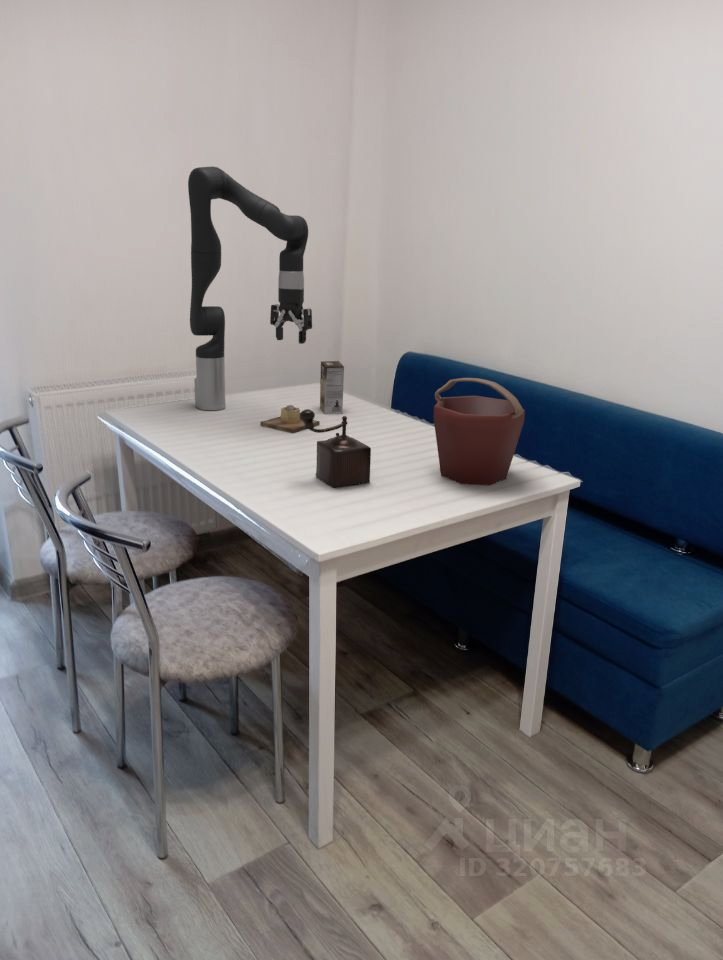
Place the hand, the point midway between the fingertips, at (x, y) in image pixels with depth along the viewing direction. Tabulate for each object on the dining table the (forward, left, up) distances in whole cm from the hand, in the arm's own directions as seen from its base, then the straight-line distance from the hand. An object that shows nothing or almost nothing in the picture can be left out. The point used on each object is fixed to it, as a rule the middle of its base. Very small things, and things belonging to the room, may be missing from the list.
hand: (290, 341), depth 241 cm
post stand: (0, 0, -26) cm, 26 cm away
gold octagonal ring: (0, 0, -25) cm, 25 cm away
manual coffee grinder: (+42, -34, -26) cm, 60 cm away
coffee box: (-2, +24, -26) cm, 36 cm away
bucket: (+67, -6, -26) cm, 72 cm away
